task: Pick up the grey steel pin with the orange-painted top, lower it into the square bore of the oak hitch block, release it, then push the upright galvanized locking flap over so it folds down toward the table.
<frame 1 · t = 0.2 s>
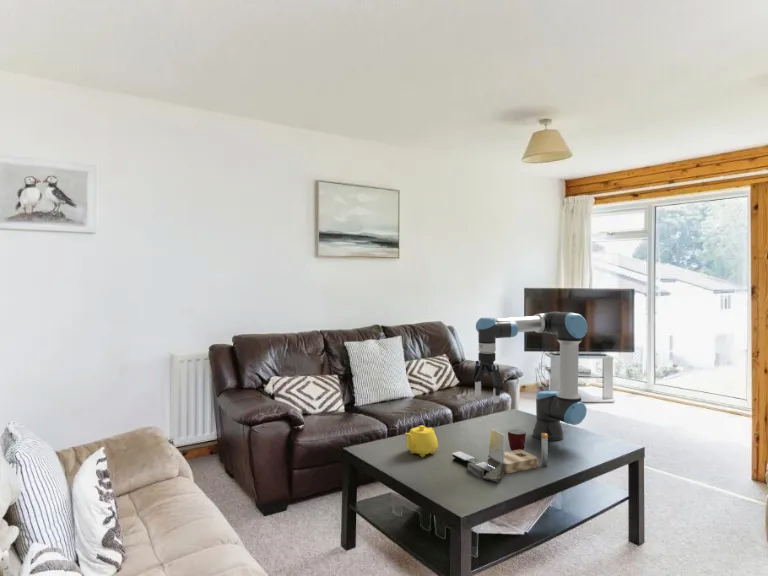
hand: (486, 399, 225), 28 cm above the table, fingers open, 13 cm apart
teapot: (419, 454, 234), on the table
rock sample: (493, 480, 204), on the table
hitch block: (513, 465, 219), on the table
mug: (518, 453, 233), on the table
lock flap: (496, 446, 215), point 10 cm above the table, hinge at -5.0°
pin: (544, 465, 218), on the table
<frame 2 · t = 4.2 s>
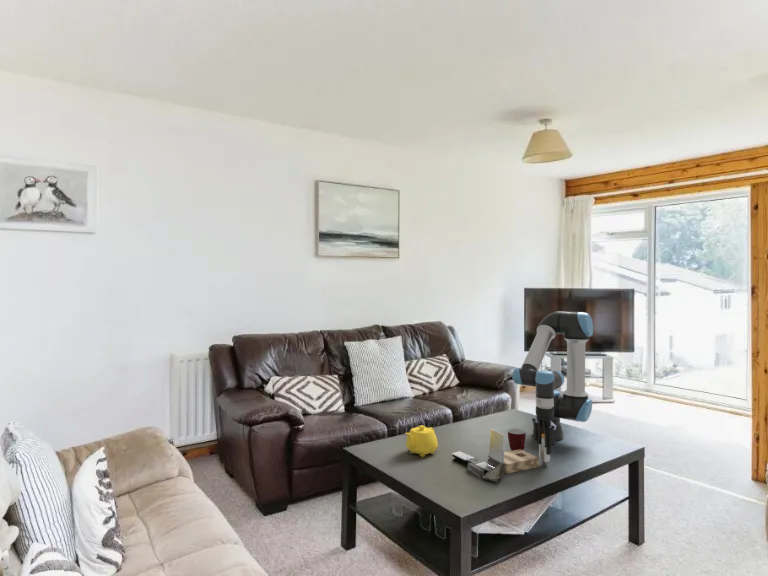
hand: (544, 459, 218), 3 cm above the table, fingers closed on pin, 2 cm apart
pin: (544, 465, 218), on the table, touching gripper
everything else where it was.
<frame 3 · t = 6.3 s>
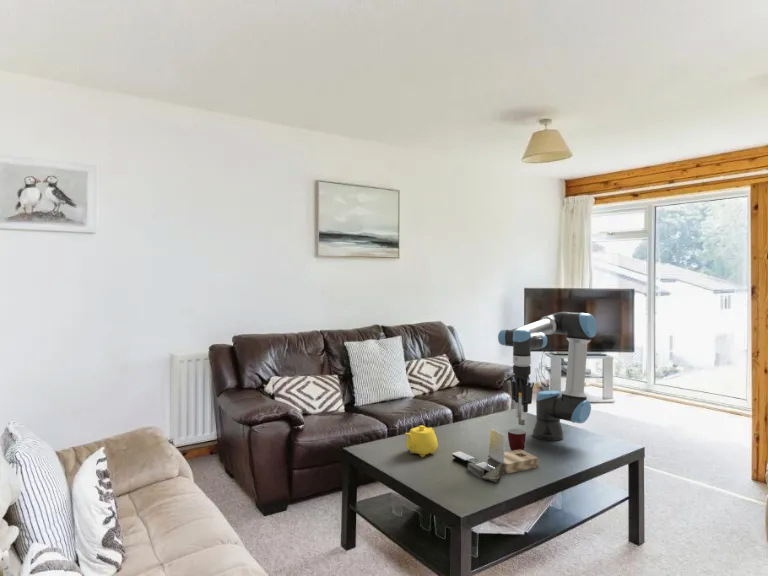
hand: (521, 418, 220), 20 cm above the table, fingers closed on pin, 2 cm apart
pin: (521, 424, 220), point 18 cm above the table, touching gripper
everything else where it was.
when the fingers open (5 cm above the table, at t = 8.7 s): pin drops 2 cm, resting in hitch block.
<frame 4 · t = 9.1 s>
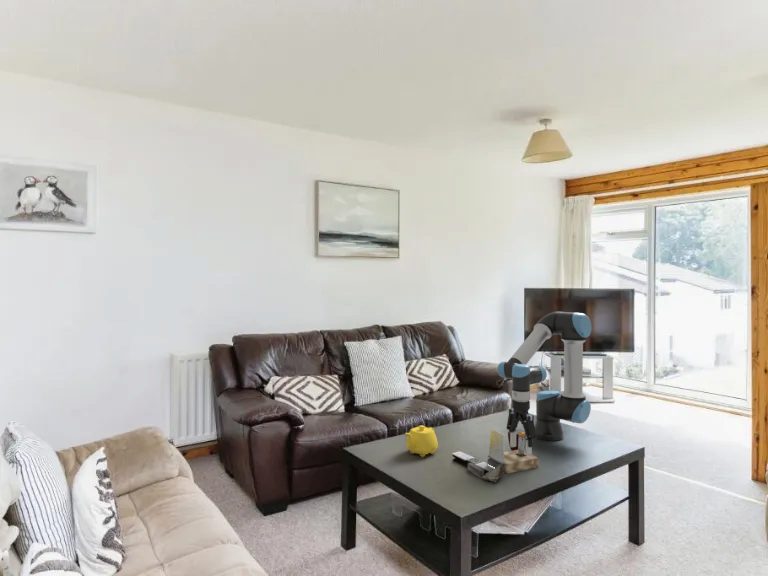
hand: (520, 450, 220), 6 cm above the table, fingers open, 9 cm apart
pin: (520, 463, 221), resting in hitch block
everything else where it was.
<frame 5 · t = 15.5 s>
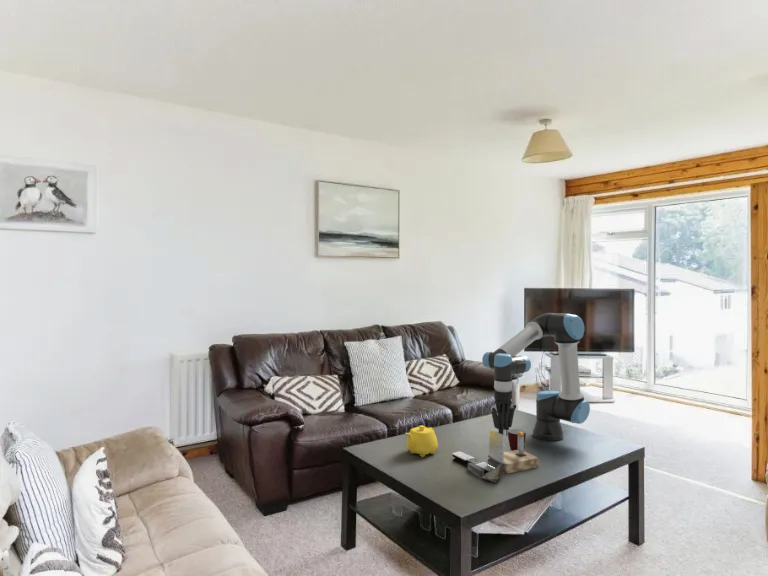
hand: (502, 444, 216), 10 cm above the table, fingers closed
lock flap: (496, 446, 215), point 10 cm above the table, hinge at -2.9°, touching gripper
everything else where it was.
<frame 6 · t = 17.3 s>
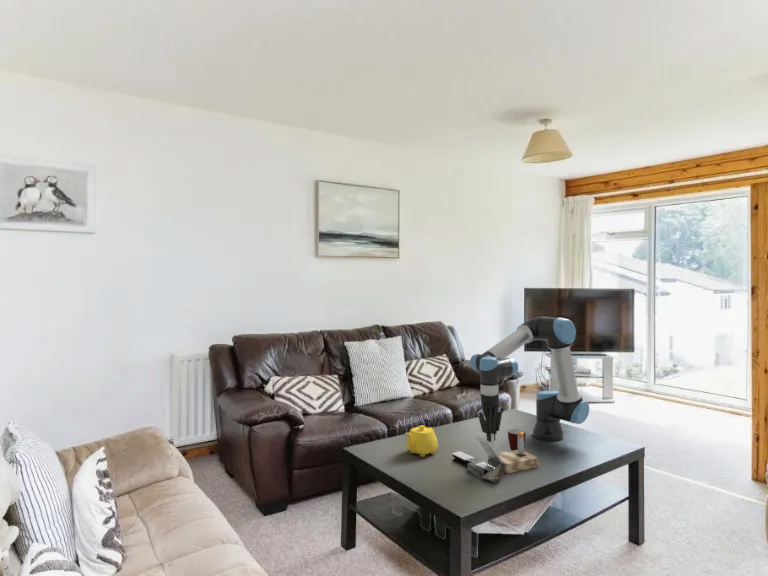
hand: (491, 448, 213), 9 cm above the table, fingers closed
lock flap: (489, 450, 213), point 9 cm above the table, hinge at 34.9°, touching gripper
everything else where it was.
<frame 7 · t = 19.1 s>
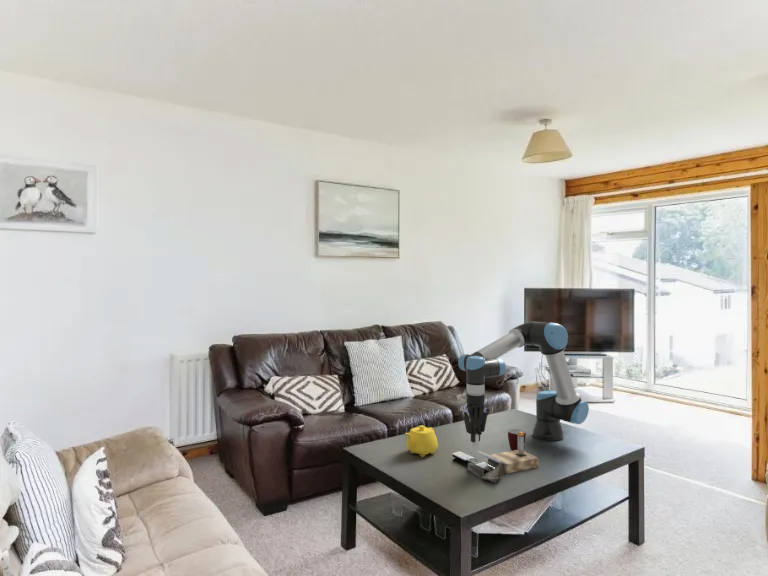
hand: (475, 449, 210), 10 cm above the table, fingers closed
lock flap: (486, 455, 213), point 7 cm above the table, hinge at 62.7°
everything else where it was.
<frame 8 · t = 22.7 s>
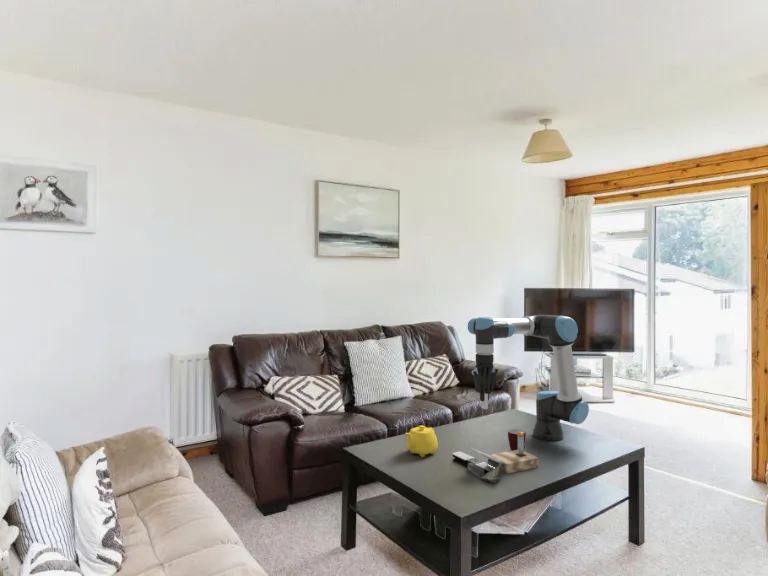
hand: (484, 408, 214), 26 cm above the table, fingers closed
at the end: pin 0.1 cm from the target spot on the hitch block, point 0.0 cm above the hitch block's base; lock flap at +63° (first picture: -5°); the gripper is holding nothing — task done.
